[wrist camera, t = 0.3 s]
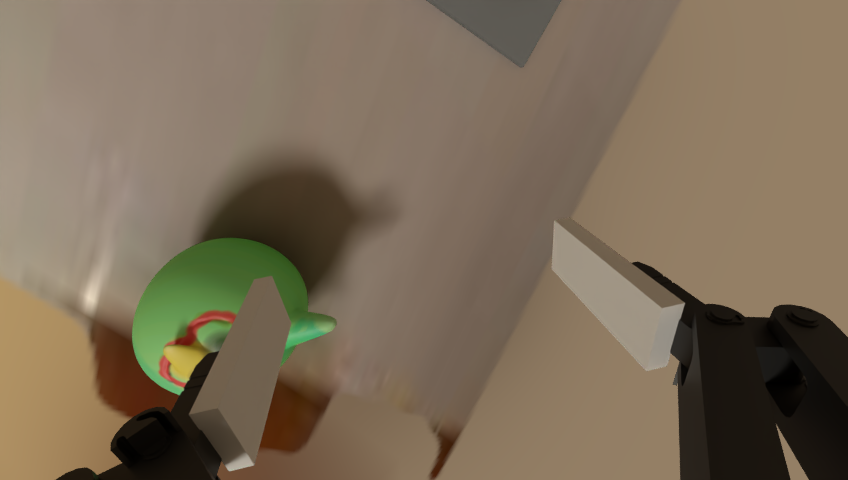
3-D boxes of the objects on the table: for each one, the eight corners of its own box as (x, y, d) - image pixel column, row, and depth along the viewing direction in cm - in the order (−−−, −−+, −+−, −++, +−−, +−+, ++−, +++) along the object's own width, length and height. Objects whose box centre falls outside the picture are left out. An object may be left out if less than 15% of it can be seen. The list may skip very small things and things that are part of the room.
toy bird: (216, 194, 39) (143, 246, 26) (346, 264, 45) (341, 336, 32) (149, 311, 43) (56, 408, 30) (277, 361, 49) (247, 461, 36)
